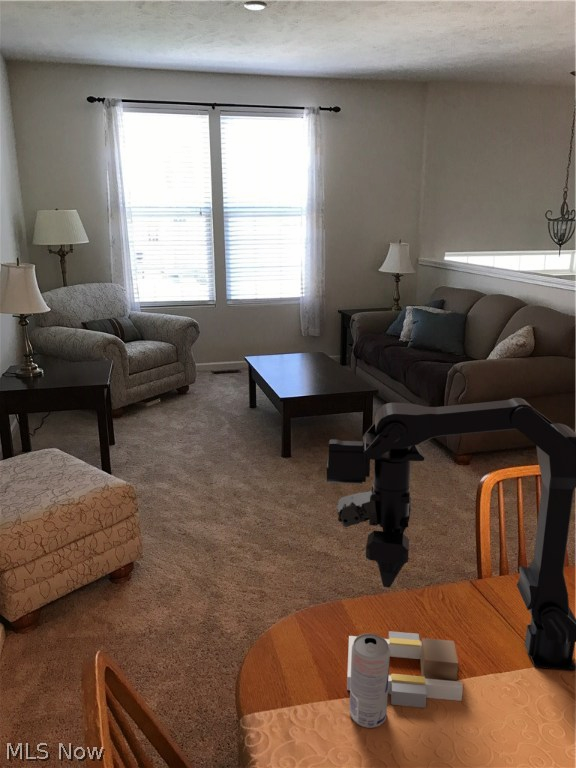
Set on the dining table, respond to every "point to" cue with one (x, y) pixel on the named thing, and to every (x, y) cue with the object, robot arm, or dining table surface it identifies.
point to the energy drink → (369, 680)
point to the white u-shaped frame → (408, 686)
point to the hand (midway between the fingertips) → (388, 570)
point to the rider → (438, 659)
